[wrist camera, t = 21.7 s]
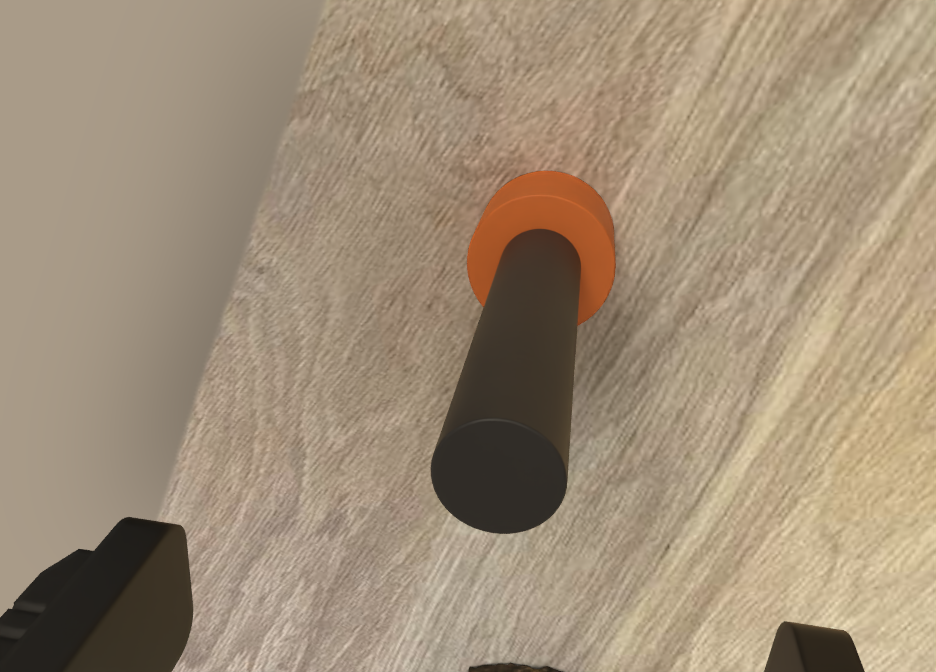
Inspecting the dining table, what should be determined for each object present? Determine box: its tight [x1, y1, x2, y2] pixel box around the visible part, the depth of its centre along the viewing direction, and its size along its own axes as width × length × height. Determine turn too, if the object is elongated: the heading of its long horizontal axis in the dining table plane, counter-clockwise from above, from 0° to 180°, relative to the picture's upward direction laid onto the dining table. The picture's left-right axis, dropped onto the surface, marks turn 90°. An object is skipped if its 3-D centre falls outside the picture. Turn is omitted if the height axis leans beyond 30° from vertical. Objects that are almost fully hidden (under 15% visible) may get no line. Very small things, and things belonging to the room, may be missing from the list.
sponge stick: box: [431, 171, 616, 534], centre depth 20 cm, size 4×4×14 cm
